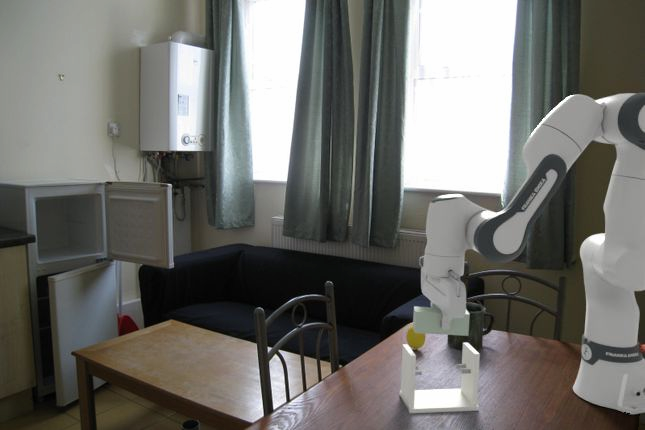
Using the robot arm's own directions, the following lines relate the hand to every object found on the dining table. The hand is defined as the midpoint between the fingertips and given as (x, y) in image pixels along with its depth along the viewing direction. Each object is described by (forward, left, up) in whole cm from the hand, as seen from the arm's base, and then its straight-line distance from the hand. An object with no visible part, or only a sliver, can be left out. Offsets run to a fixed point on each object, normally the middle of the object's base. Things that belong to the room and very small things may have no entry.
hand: (440, 324), depth 118 cm
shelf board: (0, 0, -2) cm, 2 cm away
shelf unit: (0, 0, -19) cm, 19 cm away
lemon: (-4, -32, -19) cm, 37 cm away
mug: (-22, -35, -19) cm, 46 cm away
